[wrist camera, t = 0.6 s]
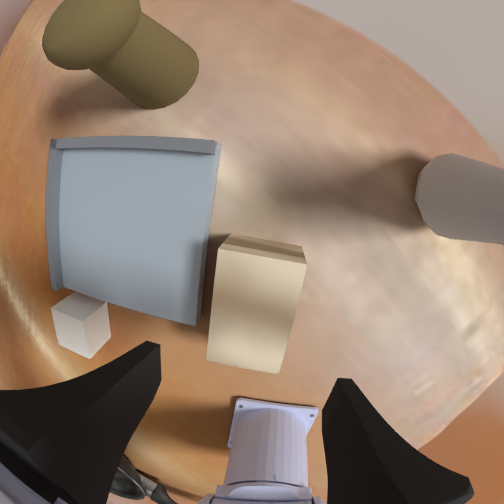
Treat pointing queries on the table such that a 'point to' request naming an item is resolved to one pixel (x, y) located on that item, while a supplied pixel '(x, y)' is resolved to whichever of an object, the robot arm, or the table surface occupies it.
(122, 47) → the pepper shaker
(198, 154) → the dock
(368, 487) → the robot arm
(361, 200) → the table surface
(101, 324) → the white cube
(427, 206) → the salt shaker
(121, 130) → the table surface
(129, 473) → the frying pan
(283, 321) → the block
